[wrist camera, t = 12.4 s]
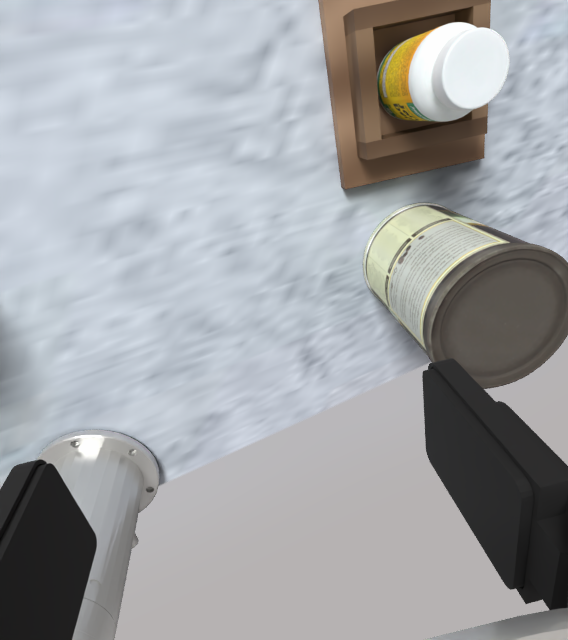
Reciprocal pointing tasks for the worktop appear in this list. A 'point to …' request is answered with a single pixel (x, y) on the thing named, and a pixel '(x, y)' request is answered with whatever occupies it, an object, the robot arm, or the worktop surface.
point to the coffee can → (469, 291)
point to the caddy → (362, 92)
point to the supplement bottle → (443, 73)
